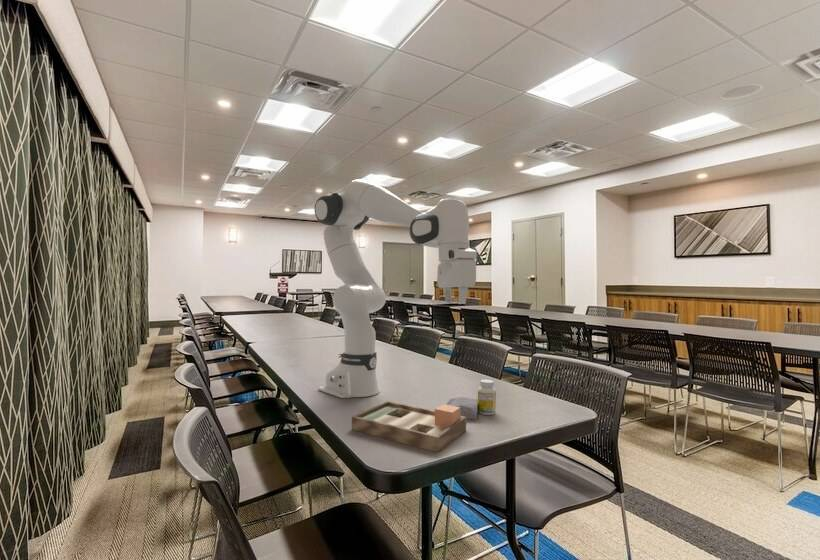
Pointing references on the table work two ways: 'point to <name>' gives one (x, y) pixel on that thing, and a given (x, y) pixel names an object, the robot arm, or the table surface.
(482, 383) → the supplement bottle
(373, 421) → the board
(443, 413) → the block
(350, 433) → the table surface
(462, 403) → the stone block
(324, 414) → the table surface
